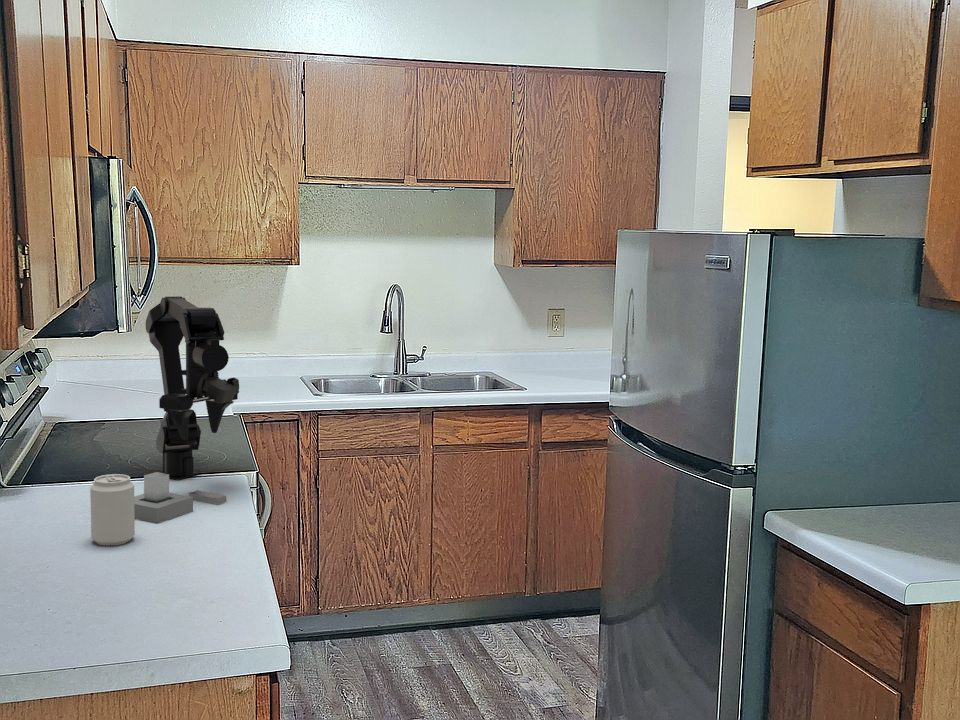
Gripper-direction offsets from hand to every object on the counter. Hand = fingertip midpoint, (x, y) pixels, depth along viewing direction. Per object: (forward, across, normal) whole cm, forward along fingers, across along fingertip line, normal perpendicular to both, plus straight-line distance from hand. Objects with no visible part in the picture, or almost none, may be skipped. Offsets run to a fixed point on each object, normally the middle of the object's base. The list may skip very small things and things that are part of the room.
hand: (199, 436), depth 210 cm
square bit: (+12, -17, -4) cm, 21 cm away
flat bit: (+13, -4, -6) cm, 15 cm away
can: (+13, -34, -10) cm, 38 cm away
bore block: (+12, -17, -4) cm, 21 cm away
